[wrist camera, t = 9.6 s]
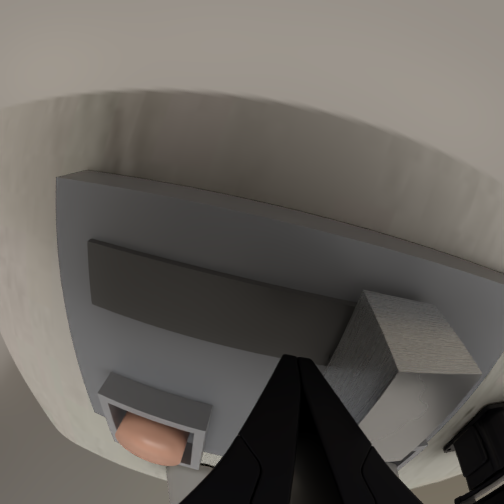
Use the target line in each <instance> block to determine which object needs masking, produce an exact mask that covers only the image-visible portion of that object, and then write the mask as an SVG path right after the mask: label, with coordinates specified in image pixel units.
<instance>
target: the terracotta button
mask: <svg viewBox="0 0 504 504" xmlns="http://www.w3.org/2000/svg"><path fill="white" fill-rule="evenodd" d="M189 434H190V432H187V431H184V430H180V429H177V428H174V427H170V426H167V425H164V424H161V423H158V422H155V421H152V420H150V419H147V418H144V417H141V416H139V415H136V414H134V413H131V412H129V411H127V412H126V414H125V416H124V418H123V420H122V422H121V424H120V425H119V427H118V429H117V431H116V433H115V437H116V439H117V441H118V442H119V443H120V444H121V445H122V446H123V447H124V448H125V449H127V450H128V451H129V452H131V453H132V454H134V455H136V456H138V457H140V458H142V459H144V460H146V461H149V462H152V463H155V464H159V465H164V466H176V465H178V464H180V462H181V459H182V456H183V453H184V450H185V447H186V443H187V440H188V437H189Z"/></svg>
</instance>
